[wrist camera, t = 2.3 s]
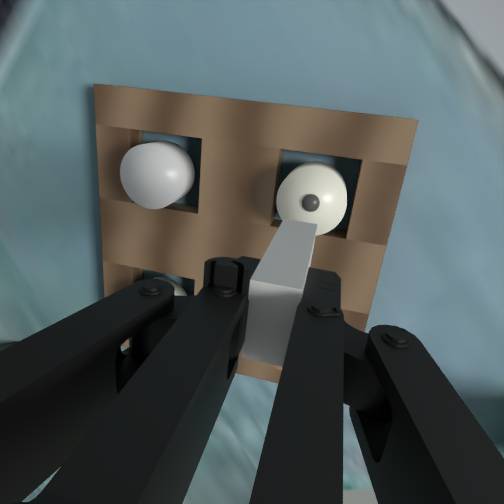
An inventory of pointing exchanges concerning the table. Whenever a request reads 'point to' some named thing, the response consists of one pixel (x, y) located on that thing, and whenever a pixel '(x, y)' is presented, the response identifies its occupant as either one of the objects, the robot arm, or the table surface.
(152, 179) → the button blank
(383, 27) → the table surface
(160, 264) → the panel
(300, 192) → the button one
